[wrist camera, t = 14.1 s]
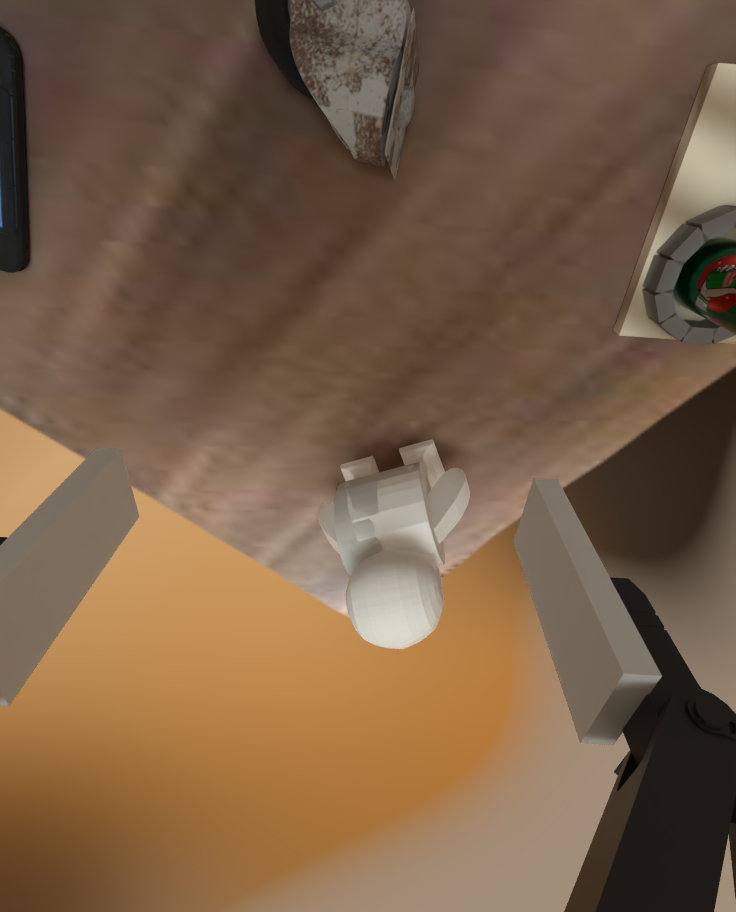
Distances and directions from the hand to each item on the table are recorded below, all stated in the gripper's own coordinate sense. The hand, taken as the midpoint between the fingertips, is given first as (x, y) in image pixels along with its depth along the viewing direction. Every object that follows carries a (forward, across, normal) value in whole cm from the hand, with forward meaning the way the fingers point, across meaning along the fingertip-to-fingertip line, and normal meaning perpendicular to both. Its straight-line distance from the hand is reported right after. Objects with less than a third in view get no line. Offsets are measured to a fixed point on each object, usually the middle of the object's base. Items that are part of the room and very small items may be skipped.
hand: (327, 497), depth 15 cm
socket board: (+27, +26, +7) cm, 38 cm away
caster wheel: (+27, -2, +15) cm, 31 cm away
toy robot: (+27, +4, -17) cm, 32 cm away
